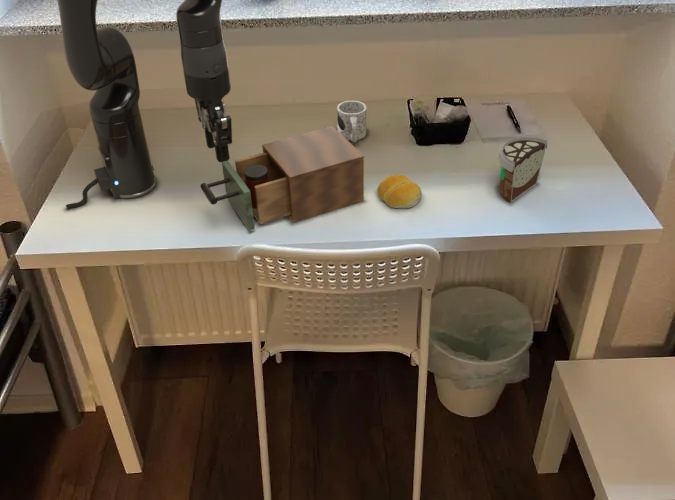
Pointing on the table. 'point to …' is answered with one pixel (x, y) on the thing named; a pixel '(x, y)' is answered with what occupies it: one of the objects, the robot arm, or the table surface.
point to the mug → (351, 120)
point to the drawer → (268, 195)
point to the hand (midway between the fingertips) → (218, 153)
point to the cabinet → (319, 171)
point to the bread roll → (399, 191)
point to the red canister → (255, 179)
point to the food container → (520, 165)
